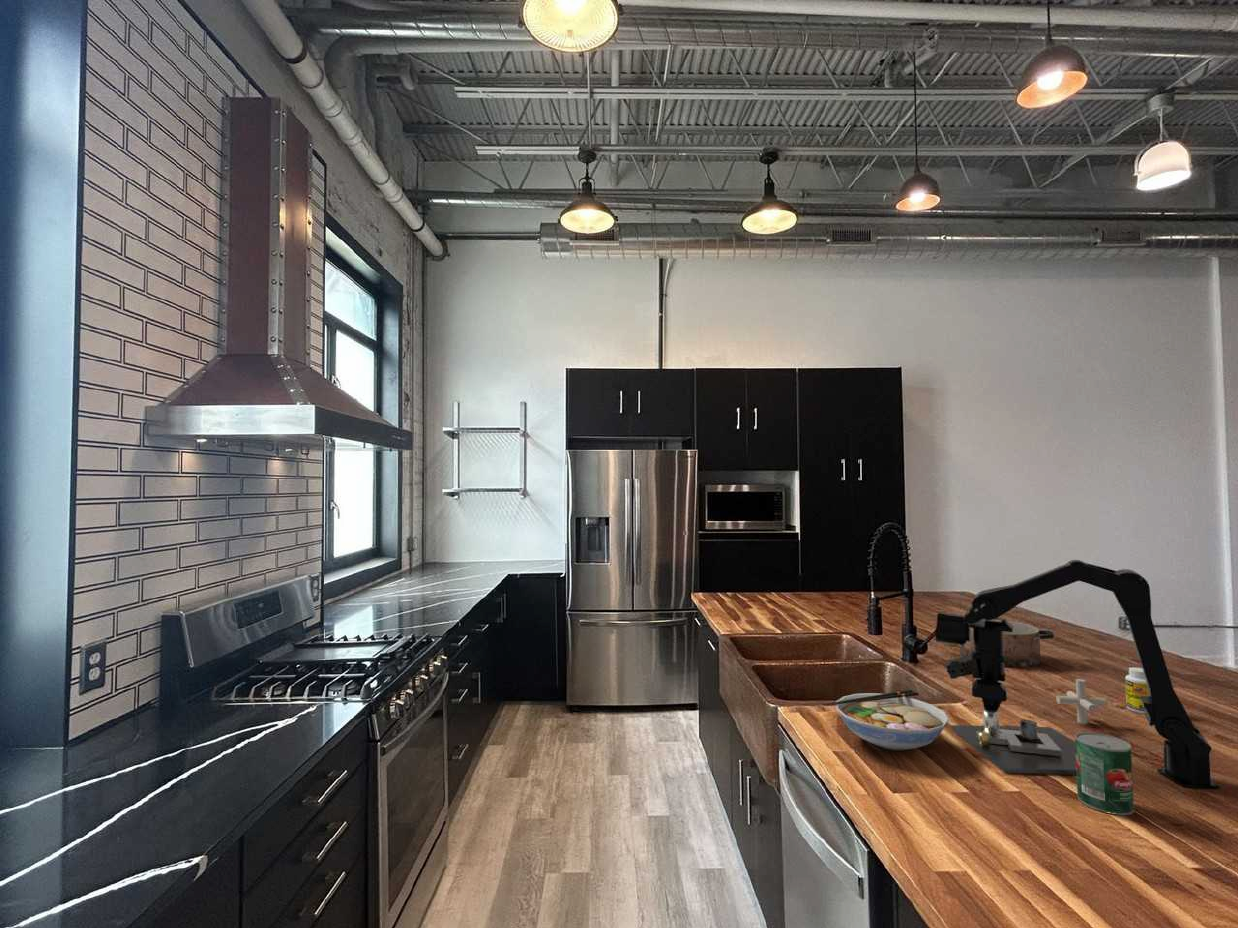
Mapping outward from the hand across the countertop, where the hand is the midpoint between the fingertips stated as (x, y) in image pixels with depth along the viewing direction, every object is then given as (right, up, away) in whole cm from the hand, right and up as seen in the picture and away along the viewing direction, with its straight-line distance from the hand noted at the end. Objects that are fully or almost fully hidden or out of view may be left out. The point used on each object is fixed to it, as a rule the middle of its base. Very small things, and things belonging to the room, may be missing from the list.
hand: (989, 719), depth 135 cm
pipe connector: (+28, -5, +10) cm, 30 cm away
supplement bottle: (+49, -6, +18) cm, 52 cm away
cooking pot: (+43, -8, +66) cm, 79 cm away
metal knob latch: (+3, -3, -4) cm, 6 cm away
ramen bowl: (-23, -5, -1) cm, 23 cm away
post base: (+5, -4, -5) cm, 9 cm away
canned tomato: (+4, -4, -27) cm, 28 cm away
